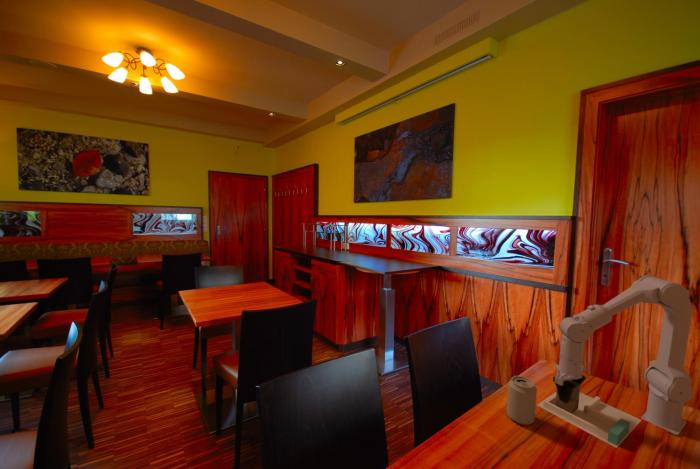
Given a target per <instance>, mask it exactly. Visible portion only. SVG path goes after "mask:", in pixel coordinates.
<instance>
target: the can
mask: <svg viewBox="0 0 700 469" xmlns="http://www.w3.org/2000/svg"><path fill="white" fill-rule="evenodd" d="M535 384H536V383H535V382H534V381H533V380H532V379H530V378H528V377H525V376H522V375H514V376H512V377H511V379H510V380H509V381H508V387H507V388H508V389H507V399H506V404H507V405H506V414H507V416H509V419H511V420H512V421H513V422H515V423H517V424H519V425H524V426H528V425H531V424H534V422H535V419H536V406H537V404H536V403H537V393H538V390H537V386H536V385H535Z"/></svg>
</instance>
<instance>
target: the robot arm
mask: <svg viewBox="0 0 700 469" xmlns="http://www.w3.org/2000/svg"><path fill="white" fill-rule="evenodd" d="M690 294H691V292H690V291H689V289H687V288H686V287H685V286H683V285H682V284H679V283H676V282H671V281H669V280H666V279H662V278H660V277H657V276H655V275H651V274H650V275H644V276H642V277H640V279H636V280H634V281H633V282H632V284H631V285H630V287H628V288H627V289H626V290H624V291H622V292H621V293H619V294H618V295H616V296H615V297H613V298H612V299H610V300H609V301H607V302H606V303H604V304H602V305H601V304H593V305H592V304H590V305H589V306H587V309H585V310H583V311H581V312H580V313H578V314H574V315H572V317H570V316H569V317H568V316H567V317H565V318H563V319H562V320H561V322H560V323H559V324H558V325H557V326H558V329H559V331H560V332H561V338H560V339H561V340H560V348H559V349H560V351H559V362H558V363H559V364H556V365H554V369H556V370H557V372H556V375H554V376H553V377H552V381H553V383H554V384H555V387H556V391H557V390H558V395H559V400H560V401H562V402H564V403H566V404H567V403H568V401H569V399H570V395H571V392H572V390H573V388H574V387H575V386H576V385H574V384H572V383H570V381H569V380H571V381H574V382H576V383H578V384H580V386H581V385H582V384H583V383H584V381H585V380H586V378H587V376H585V375H583V372H584V368H585V365H583V362H584V349H585V342H586V341H588V340H589V339H590V336H591V335H592V333H594V332H595V331H596V330H598V329H600V328H602V327H604V326H606V325H607V324H609V323H611V322H612V320H613V316H615V315H616V314H618V313H621V312H622V311H625V310H627V309H629V308H631V307H633V306H636V305H637V304H640V303H644V304H653V305H659V306H660V307H661V308H662V309H663V315H662V324H661V330H660V337H659V344H658V351H657V357H656V359H654V360H651V361H650V362H649V366H648V367H647V368H646V370H645V371H644V374H643V375H644V379H645V382H647V383H648V388H649V389H648V390H649V391H648V399H647V406H646V412H645V413H643V415H642V416H641V417H640V418H641V420H644V421H646V422H648V423H651V424H653V425H655V426H658V427H660V428H662V429H664V430H666V431H667V432H668V433H670V434H673V435H674V436H679V435H680V433H681V432H682V431H683V429H684V427H685V426H686V425H687V421H685V420H684V419H683V413H684V408H685V406H684V405H685V404H686V403H687V402H689V401H690V400H691V399H692V398H693V396H694V389H693V387H692V378H691V377H690V375H689V373H688V372H687V371H686V369H685V360H686V354H687V347H688V342H689V336H690V330H691V324H692V318H693V317H692V316H693V312H694V311H693V310H694V308H693V305H692V302H691V300H690Z"/></svg>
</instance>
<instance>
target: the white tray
mask: <svg viewBox="0 0 700 469" xmlns="http://www.w3.org/2000/svg"><path fill="white" fill-rule="evenodd" d="M556 392H557V391H555V392H554V393H552V394H551V395H549V396H548V397H545V399H543V400H541V401H540V402H538V403H537V404H536V406H537V407H540V408H541V409H543V410H545V411H547V412H548V413H550V414H552V415H554V416H556V417H558V418H560V419H561V420H563V421H565V422H567V423H569V424H571V425H572V426H574V427H576V428H579V429H581V430H582V431H583V432H586V433H588V434H589V435H592V436H593V437H595V438H596V439H599V440H601V441H603V442H605V443H606V444H608V445H610V446H611V447H614V448H616V449H617V448H618V447H620V445H621V444H622V443H623V442H624V440H625V439H626V438H627V437H628V436H629V435H630V434H631V433H632V432H633V430H635V428H637V426H638V425H639V423H641V422H642V419H640V418H637V417H636V416H634V415H631V414H629V413H627V412H625V411H623V410H620V409H618V408H616V407H613V406H611V405H609V404H606V403H605V402H602V401H601V397H599V396H598V395H596V396H595V397H591V396H590V395H587V394H585V393H583V392H580V394H579V405H578V409H577V410H576V411H574V412H573V413H572V414H571V413H569V412H567V411H565V410H563V409H561V408H559V407H557V406H555V403H556Z"/></svg>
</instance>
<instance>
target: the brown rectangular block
mask: <svg viewBox="0 0 700 469" xmlns="http://www.w3.org/2000/svg"><path fill="white" fill-rule="evenodd" d="M569 381H570V383H572V384H574V385H576V386H575V387H574V388H573V390H572V392H571V395H570V399H569V401H568V403H567V404H566V403H564V402H562V401H560V400H559V395H558V390H557V389H556V391H555V392H556V403H555V406H557V407H559V408H561V409H563V410H565V411H567V412H569V413H571V414H572V413H573V412H574V411H576V410H577V409H578V405H579V394H580V393H581V385H580V384H578V383H576V382H574V381H571V380H569Z"/></svg>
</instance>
